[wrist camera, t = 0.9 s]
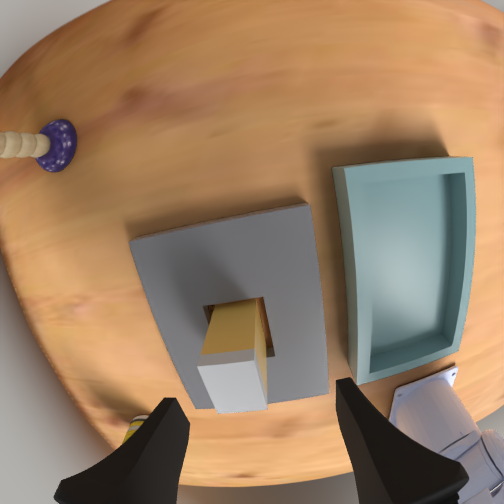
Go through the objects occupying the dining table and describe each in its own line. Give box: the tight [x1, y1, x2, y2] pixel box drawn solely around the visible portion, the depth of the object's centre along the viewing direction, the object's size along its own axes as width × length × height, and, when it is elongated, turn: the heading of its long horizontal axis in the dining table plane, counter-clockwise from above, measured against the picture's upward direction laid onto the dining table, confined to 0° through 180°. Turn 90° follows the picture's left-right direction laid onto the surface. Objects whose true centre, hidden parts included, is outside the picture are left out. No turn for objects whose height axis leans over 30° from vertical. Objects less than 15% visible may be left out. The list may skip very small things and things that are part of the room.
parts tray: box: [332, 156, 476, 385], centre depth 17 cm, size 16×10×3 cm, turn 11°
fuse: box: [197, 298, 268, 414], centre depth 17 cm, size 4×3×7 cm
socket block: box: [129, 202, 329, 409], centre depth 20 cm, size 16×12×1 cm
